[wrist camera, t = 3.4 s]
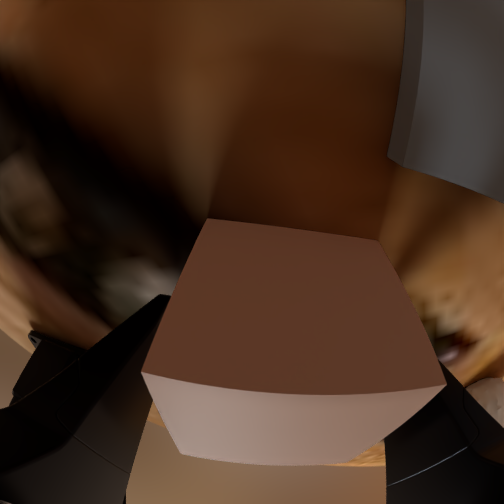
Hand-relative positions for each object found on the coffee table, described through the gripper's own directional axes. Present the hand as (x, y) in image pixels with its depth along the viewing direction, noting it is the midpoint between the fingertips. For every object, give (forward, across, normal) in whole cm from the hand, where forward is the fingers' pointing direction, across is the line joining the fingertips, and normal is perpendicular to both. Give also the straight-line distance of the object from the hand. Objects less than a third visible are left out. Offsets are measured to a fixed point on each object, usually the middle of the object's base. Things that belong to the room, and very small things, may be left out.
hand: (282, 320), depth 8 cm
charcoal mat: (+1, -9, -11) cm, 14 cm away
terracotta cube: (+1, 0, 0) cm, 1 cm away
